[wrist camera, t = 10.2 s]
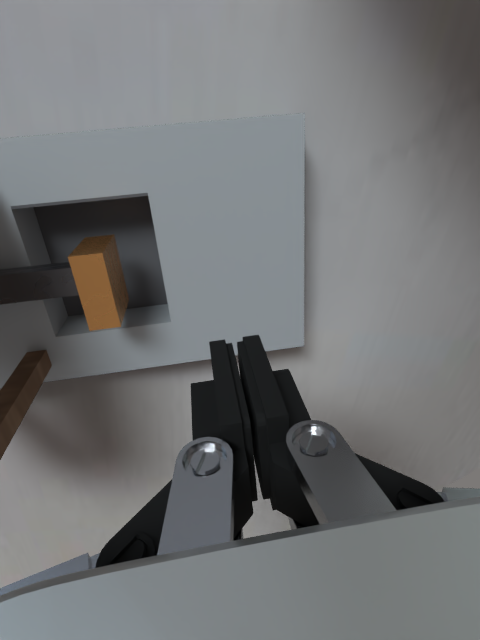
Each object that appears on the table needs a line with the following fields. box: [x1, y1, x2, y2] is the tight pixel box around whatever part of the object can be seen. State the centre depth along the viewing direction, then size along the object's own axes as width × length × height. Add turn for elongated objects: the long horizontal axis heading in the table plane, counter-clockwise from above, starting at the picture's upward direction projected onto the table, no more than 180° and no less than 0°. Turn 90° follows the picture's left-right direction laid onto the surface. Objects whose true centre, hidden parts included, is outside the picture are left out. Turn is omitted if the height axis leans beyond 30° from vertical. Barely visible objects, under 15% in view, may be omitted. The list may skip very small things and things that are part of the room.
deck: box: [0, 113, 305, 388], centre depth 29 cm, size 45×18×4 cm, turn 94°
